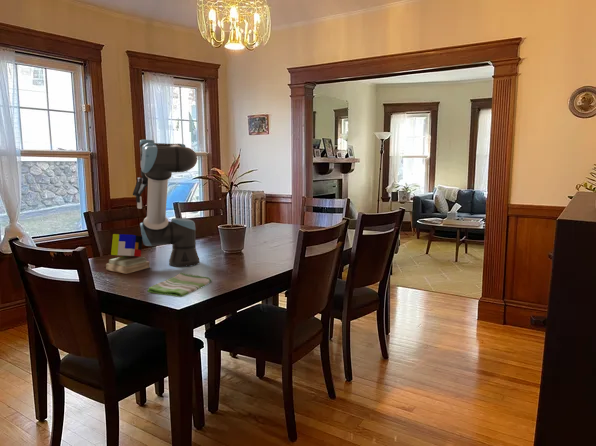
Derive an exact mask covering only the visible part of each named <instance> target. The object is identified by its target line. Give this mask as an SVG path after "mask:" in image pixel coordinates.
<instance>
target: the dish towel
mask: <svg viewBox="0 0 596 446" xmlns="http://www.w3.org/2000/svg"><path fill="white" fill-rule="evenodd" d="M210 282H211V283H212V278H211V277H210V276H205V275H199V274H198V275H197V274H191V273H185V272H183V271H182V272H180V273H178V274H177V275H175V276H173V277H170V278H168V279H166V280H165V281H161V282H158V283H156V284H153V285H152V286H149V287H148V289H147V293H152V294H161V295H166V296H176V297H180V298H181V297H184V296H186V295H188V294H191V293H193V292H195V291H198V290H199V289H201V287H202V288H204V287H205V286H208V285H209V284H210ZM208 283H209V284H208ZM203 286H204V287H203Z"/></svg>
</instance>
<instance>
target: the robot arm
mask: <svg viewBox="0 0 596 446" xmlns="http://www.w3.org/2000/svg"><path fill="white" fill-rule="evenodd" d="M139 153H140V155H139V157H140V168H141V169H140V176H141V177H137V178H136V183H135V187H134V188H133V192H132V196H134V197H135V200H136V201H135V202H136V207H137V209H140V210H141V209H143V201H142V199H143V198H142V197H143V196H142V194H143V192H144V190H145V188H146V187H147V201H146V202H147V203H146V208H147V210H146V217H145V218H143V221H142V222H140V223H139V227H140V233H141V237H142V245H144V246H146V247H154V246H168V245H171V246H172V247H171V248H172V249H171V252H170V253H171V254H170V256H169V259H168V264H169V266H171V267H178V268H181V267H182V268H185V267H186V268H187V267H194V266H197V265H199V264H200V257H199V254H198V251H197V248H196V245H197V244H196V243H197V242H196V231H197V229H196V223H195V220H192V219H188V218H180V217H172V218H171V220H170V221H169V220H168V218H167V216H166V215H167V199H168V198H167V196H168V183H169V180H170V179H171V177H172V173H174V174H175V173H184V172H187V171H190V170H192V169H193V168H194V167H195V166H196V164H197V163H198V156H197V153H196V152H195V151H194V150H193V149H192V148H189V147H187V146H186V144H183V143H160V142H159V143H158V142H157V143H156V142H155V141H154V139H140V140H139Z"/></svg>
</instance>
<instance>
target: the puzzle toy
mask: <svg viewBox="0 0 596 446" xmlns="http://www.w3.org/2000/svg"><path fill="white" fill-rule="evenodd" d="M142 246H143V239H142V235H141V236H140V235H135V234H123V233H122V234H121V233H120V234H119V233H113V234H112V242H111V250H110V251H111V252H110V255H111V256H117V257H123V256H136V257H142V248H143V247H142Z"/></svg>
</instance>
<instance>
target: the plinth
mask: <svg viewBox="0 0 596 446" xmlns="http://www.w3.org/2000/svg"><path fill="white" fill-rule="evenodd" d="M149 268H150V261H148V260H147V257H144V256H141V257H136V256H117V257H115V258H110V259H108V263H105V270H106V271H111V272H116V273H122V274H131V273H134V272H138V271H142V270H146V269H149Z"/></svg>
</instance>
